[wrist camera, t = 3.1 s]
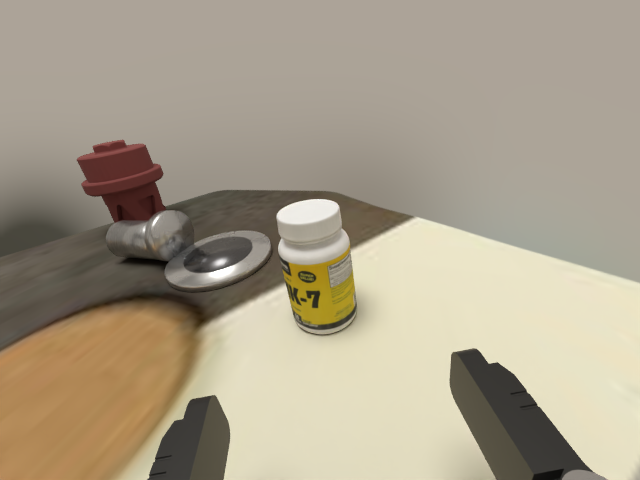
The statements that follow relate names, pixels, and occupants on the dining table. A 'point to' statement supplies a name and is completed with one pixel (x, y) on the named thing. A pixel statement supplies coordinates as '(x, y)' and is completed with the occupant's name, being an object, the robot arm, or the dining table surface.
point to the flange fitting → (190, 251)
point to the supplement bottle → (317, 265)
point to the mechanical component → (123, 180)
